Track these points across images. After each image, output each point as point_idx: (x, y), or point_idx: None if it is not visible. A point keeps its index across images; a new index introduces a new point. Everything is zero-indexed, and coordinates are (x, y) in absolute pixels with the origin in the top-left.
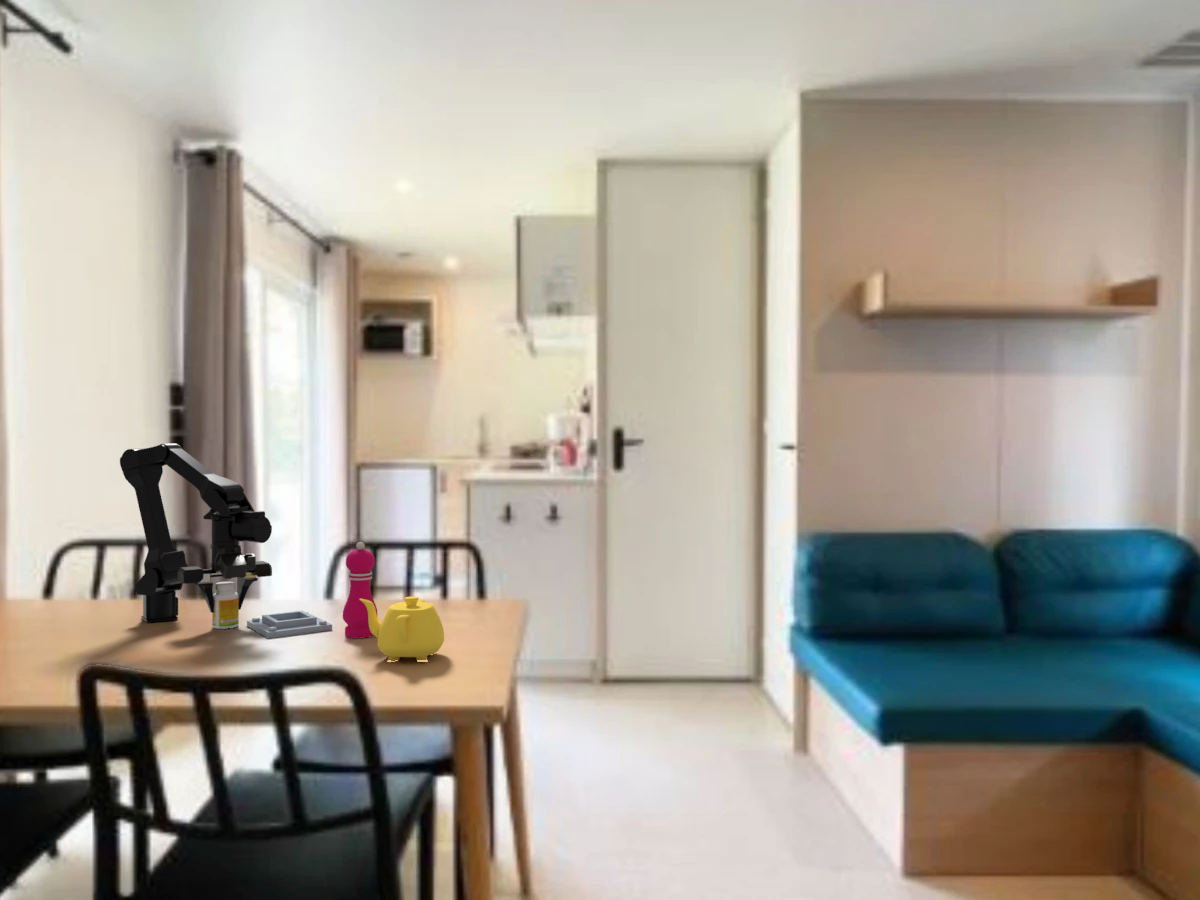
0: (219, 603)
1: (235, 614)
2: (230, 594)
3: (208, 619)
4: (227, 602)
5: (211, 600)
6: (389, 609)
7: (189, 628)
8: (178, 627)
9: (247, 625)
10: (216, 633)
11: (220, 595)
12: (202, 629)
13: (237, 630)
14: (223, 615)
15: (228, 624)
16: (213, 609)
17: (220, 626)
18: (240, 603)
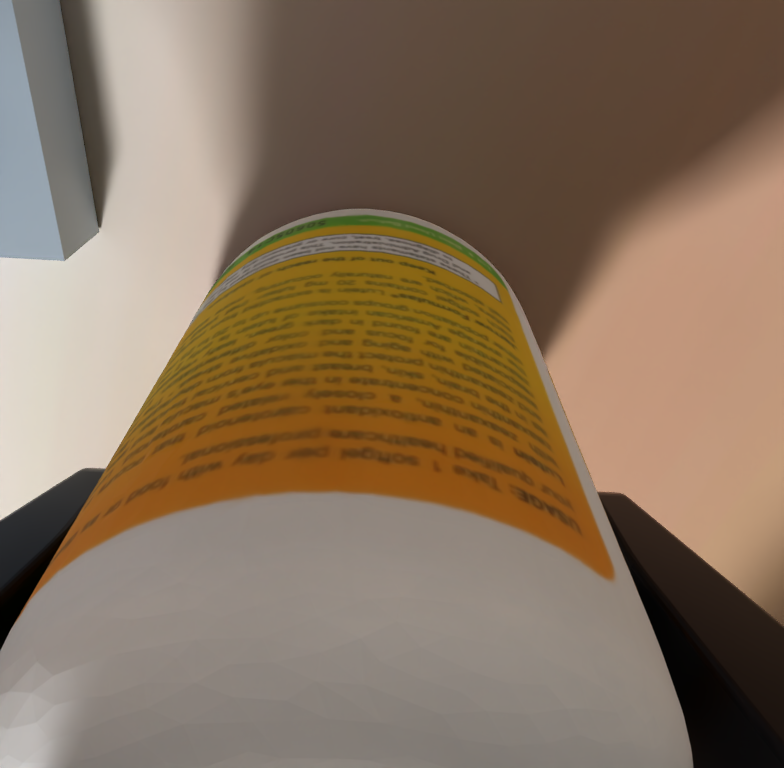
0: (584, 518)
1: (229, 306)
2: (252, 690)
3: None
4: (401, 445)
5: (767, 673)
6: None
7: (717, 509)
8: (762, 598)
9: (88, 206)
10: (652, 5)
11: (611, 742)
12: (646, 389)
13: (294, 17)
14: (469, 311)
15: (380, 226)
16: (610, 519)
17: (487, 261)
18: (30, 531)
